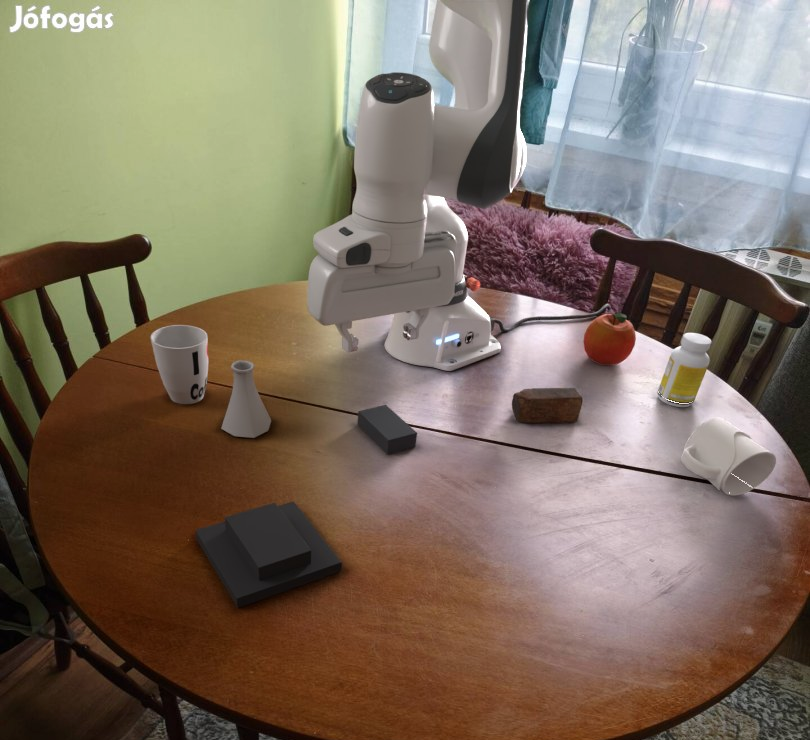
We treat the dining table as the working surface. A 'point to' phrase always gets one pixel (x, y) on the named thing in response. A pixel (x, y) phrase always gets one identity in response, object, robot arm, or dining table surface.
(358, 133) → the robot arm
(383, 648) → the dining table surface
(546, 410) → the brick
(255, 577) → the base pad
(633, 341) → the fruit
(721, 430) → the mug
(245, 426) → the flask
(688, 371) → the pill bottle
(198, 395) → the cup
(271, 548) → the medium pad
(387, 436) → the top pad
